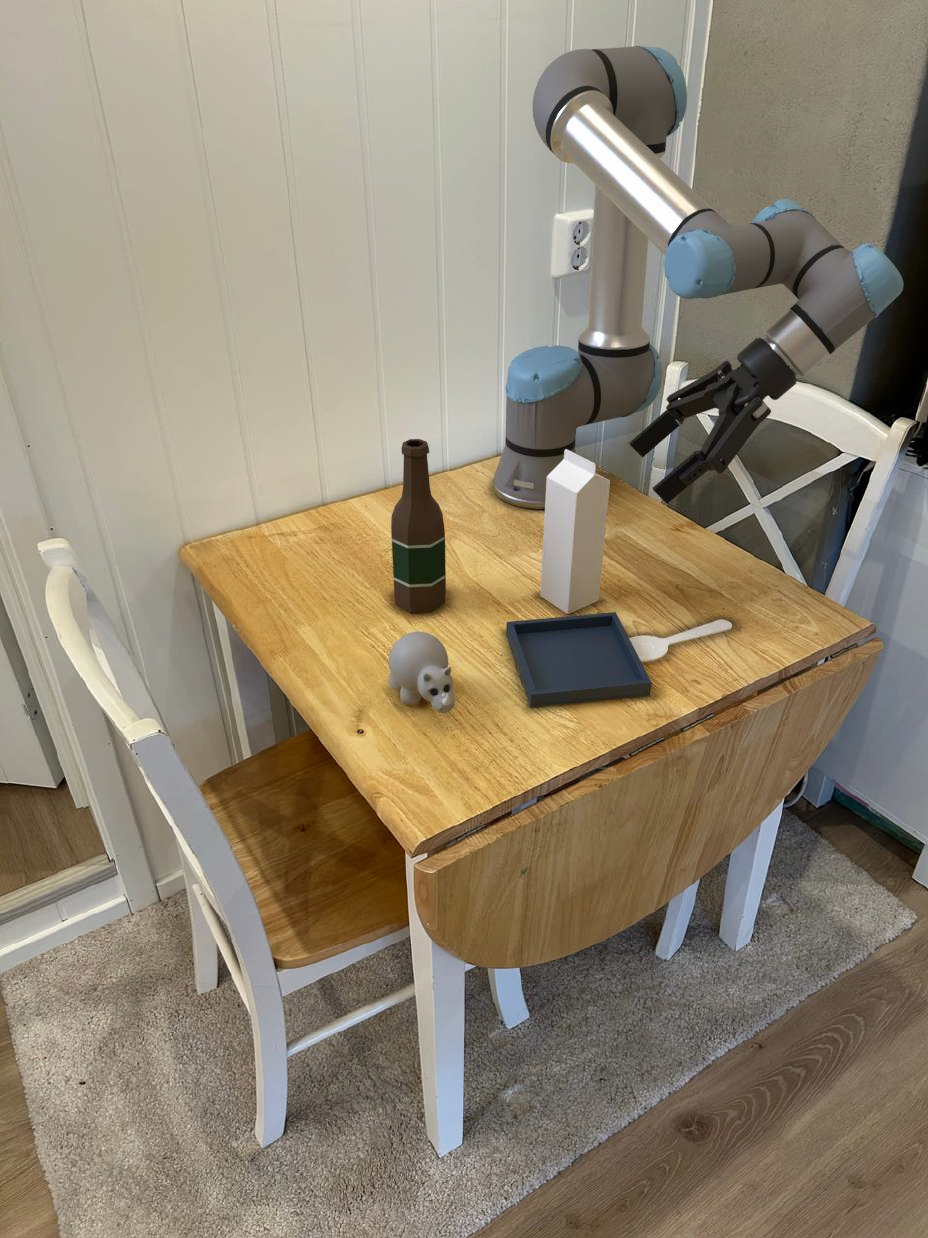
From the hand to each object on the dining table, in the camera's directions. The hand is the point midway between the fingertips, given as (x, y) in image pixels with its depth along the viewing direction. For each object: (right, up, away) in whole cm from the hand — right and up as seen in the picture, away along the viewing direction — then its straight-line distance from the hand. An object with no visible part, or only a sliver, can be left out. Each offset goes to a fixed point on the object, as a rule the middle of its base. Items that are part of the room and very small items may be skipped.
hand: (646, 472), depth 125 cm
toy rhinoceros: (-28, -30, -8) cm, 42 cm away
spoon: (+4, -22, +3) cm, 23 cm away
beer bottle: (-30, -17, +11) cm, 36 cm away
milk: (-9, -16, +11) cm, 22 cm away
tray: (-10, -25, -2) cm, 27 cm away
